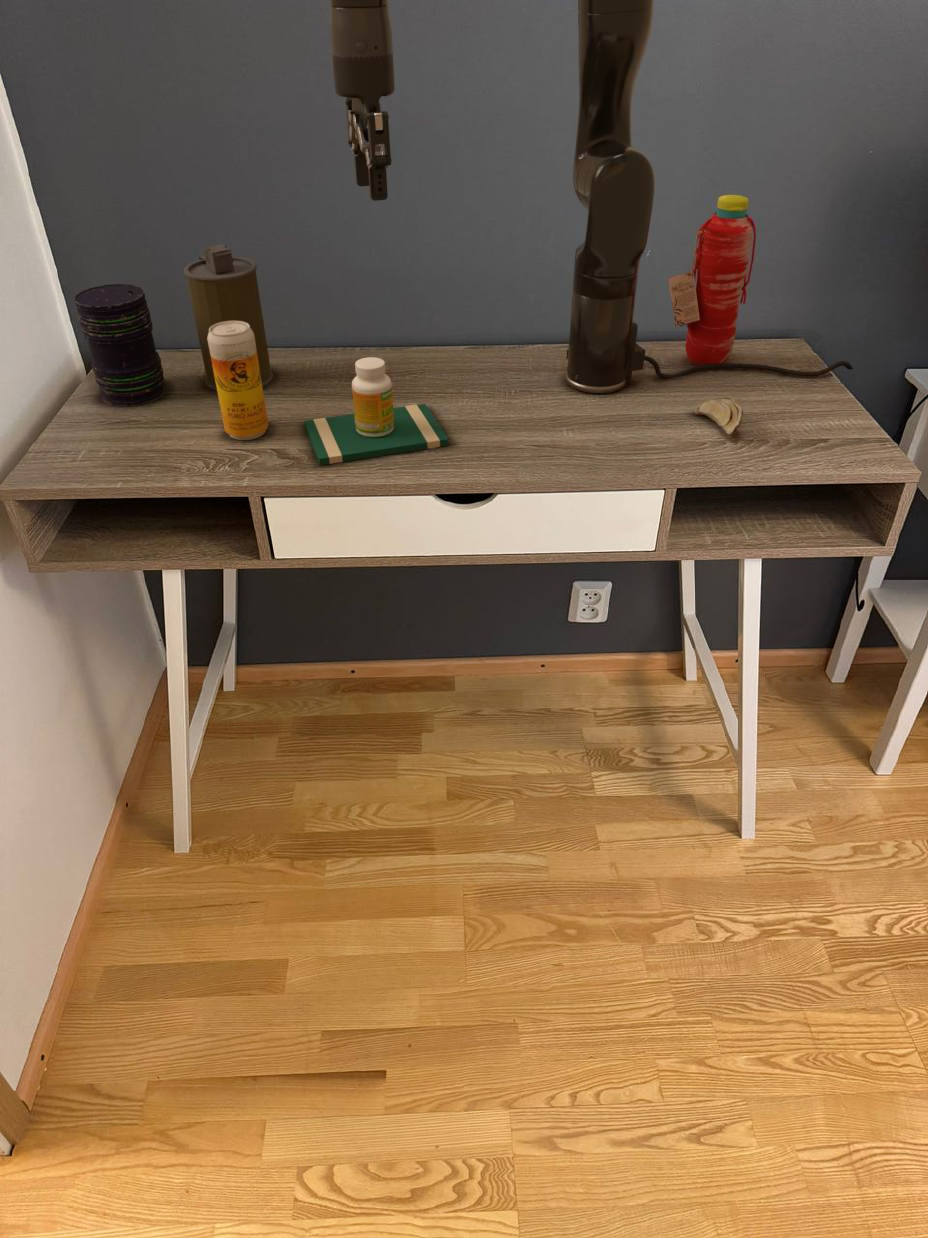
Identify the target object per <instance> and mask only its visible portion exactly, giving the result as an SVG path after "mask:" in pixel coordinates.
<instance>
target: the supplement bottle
mask: <svg viewBox="0 0 928 1238" xmlns="http://www.w3.org/2000/svg"><path fill="white" fill-rule="evenodd" d="M354 369H355V375H356V376H355V377H354V378H353V379H352V382H351V391H352V393H351V394H352V402H353V414H354V415H355V426H356V430H357V432H358V433H359V434H361V435H363V436H366V437H381V436H385V435H388V434H390V433H391V432H392V431H393V429H394V413H393V408H394V400H393V399H394V398H393V384H392V380H391V378H390V376H389V375H388V374H386V362H385V360H384V359H382V358H379V357H375V356H373V357H372V356H369V357H363V358H359V359H357V360H356V361H355V363H354Z"/></svg>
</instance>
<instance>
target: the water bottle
mask: <svg viewBox="0 0 928 1238" xmlns="http://www.w3.org/2000/svg"><path fill="white" fill-rule="evenodd" d="M748 207H749V198H748V197H745V196H744V195H739V194H725V195H722V196H719V197H718V199H717V207H716V212H713V213H712V215H711V217H710V218H708V219H707V220H706V221H705V222H704V223H703V224H702V225H701V226H700V228H699V229H698V230H696V232H695V235H696V237H695V241H694V248H693V254H692V261H691V270H690V271H687V272H685V273H682V274H679V275H676V276H673V277H671V278H668V286H669V292H670V293H669V294H670V301H671V309H672V315H673V322H674V328H676V327H683V326H686V328H687V332H686V339H685V345H684V347H685V354H686V357H687V360H688V361H689V362H690V363H691V364H693V365H694V366H698V365H703V364H717V363H727V361H728V359H729V358H730V355H731V354H732V351H733V349H734V343H735V339H736V332H737V323H738V313H739V305H740V304H742V305H746V301H747V300H746V299H747V288H746V287H747V286H748V285H749V283H750V281H751V274H752V270H753V264H754V258H755V249H756V240H757V232H756V231H757V230H756V225H755V222H754V220H753V219H752V218H751V217H750V216H749V214H748V213H747V211H748ZM750 256H751V260H750ZM749 262H750V264H749ZM748 267H749V270H748ZM747 272H748V273H747ZM747 275H748V276H747Z"/></svg>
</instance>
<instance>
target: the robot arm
mask: <svg viewBox="0 0 928 1238" xmlns="http://www.w3.org/2000/svg"><path fill="white" fill-rule="evenodd" d="M654 4H655V0H577V26H578V95H579V96H578V97H579V98H578V99H579V100H578V116H577V117H578V118H577V128H576V137H575V138H576V139H575V148H574V157H573V169H572V183H573V188H574V192H575V195H576V197H577V199H578V201H579V202H580V203H581V205H582V206H583V207H584V208H586V209H587V221H586V228H585V238H584V241H583V242H581V243H579V245H578V246H577V247H576V249H575V253H574V265H573V278H572V279H573V280H572V296H571V310H570V323H569V324H570V325H569V337H568V349H566V359H567V365H566V372H565V383H566V384H567V385H568V386H570V388H572V389H575V390H577V391H579V392H584V393H588V394H609V393H614V392H618V391H620V390H622V389H624V388H625V387H627V386H631V385H632V380H633V372H636V371H643V370H644V364H645V362H648V364H651V365H652V367H653V368H654V372H655V375H656V376H657V377H658V378H660V379H662V380H670V379H675V378H679V377H683V376H687V375H689V374H692V373H695V372H698V371H702V370H711V369H712V370H713V369H744V370H745V369H746V370H758V371H768V372H773V373H778V374H784V375H789V376H795V377H806V378H808V377H809V378H813V377H820V376H824V375H826V374H828V373H831V372H832V371H835V370H836V369H837V368H839V367H845V369H847V370H853V369H854V367H853V365H852V364H851V363H850V362H848V361H846V360H839V361H837V362H835V363H833V364H831V365H829V366H828V367H826V368H823V369H820V370H816V371H815V370H814V371H807V370H806V371H804V370H803V371H802V370H794V369H788V368H784V367H778V366H775V365H774V366H773V365H766V364H757V363H743V362H742V363H736V362H725V363H717V364H703V365H698V366H697V365H694V366H692V367H689V368H687V369H685V370H683V371H680V372H678V373H675V374H665V373H664V372H663V373H662V371H661V368H660V365H659V363H658V361H656V359H654V358H652V357H650V356H648V355H646V349H644V348H643V347H642V346H640V345H639V344H638V343H637V335H638V327H639V326H638V324H637V322H636V321H634V313H635V305H636V295H637V286H638V278H639V268H640V261H641V258H642V257H643V254H644V253H645V250H646V248H647V245H648V238H649V234H650V233H649V232H650V226H651V220H652V214H653V208H654V207H653V206H654V199H655V188H656V179H655V178H656V177H655V172H654V168H653V165H652V163H651V161H650V160H649V158H648V157H647V156H646V155H644V153H642V152H641V151H639V150H637V149H635V148H633V146H632V145H633V144H632V100H633V94H634V93H633V92H634V88H635V83H636V80H637V77H638V74H639V70H640V67H641V64H642V61H643V58H644V56H645V52H646V49H647V45H648V42H649V39H650V36H651V35H650V34H651V30H652V25H653V19H654V8H655V7H654ZM329 5H330V7H329V11H330V13H329V14H330V16H329V33H330V34H329V36H330V47H331V48H330V49H331V59H332V69H333V81H334V82H333V83H334V91H335V93H336V95H337V96H339V97H342V98H345V107H346V121H347V135H348V137H347V138H348V139H347V144H348V146H349V148H351V154H352V155H353V158H354V170H355V183H356V185H357V186H358V187H369V197H370V199H371V200H372V201H374V202H375V201H376V202H378V201H386V200H387V199H388V196H389V193H388V177H387V175H388V174H387V169H388V168H389V166H391V165H392V157H391V156H392V155H391V141H390V139H391V138H390V125H389V123H390V122H389V120H390V119H389V118H390V116H389V113H388V111H386V110H381V103H380V99H381V98H382V97H388V96H391V95H392V94H393V93H394V92H395V70H394V51H393V50H394V47H393V31H392V29H393V28H392V21H391V15H390V8H389V7H390V6H389V0H329ZM377 152H379V154H377V155H376V153H377Z"/></svg>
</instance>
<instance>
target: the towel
mask: <svg viewBox="0 0 928 1238" xmlns="http://www.w3.org/2000/svg"><path fill="white" fill-rule="evenodd" d="M393 413H394V429H393V431H392V432H391V433H390V434H388V435H385V436H381V437H366V436H363V435H361V434H359V433H358V432H357V430H356V426H355V415H354V413H349V414H342V415H334V416H328V417H320V418H313V419H306V420H303V423H304V425H303V426H304V428H305V431H306V433H307V437H308V439H309V441H310V444H311V446H312V448H313V451H314V454H315V456H316V459H317V461H318V465H319V466H324V465H331V464H339V463H344V462H350V461H351V462H352V461H356V460H363V459H369V458H376V457H382V456H389V455H394V454H395V455H396V454H402V453H409V452H415V451H422V450H429V449H436V448H440V447H448V446H449V445H450V439H449V437H448V435H447V434H446V433H445V431H444V430H443V428H442V426H441V425H440V423H439V422H438V420H437V419H436V417H435V416H434V415H433V413H432V412H431V410H430V408H429V407H428V405H427V403H418V404H411V405H410V404H409V405H404V406H398V407H393Z"/></svg>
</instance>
